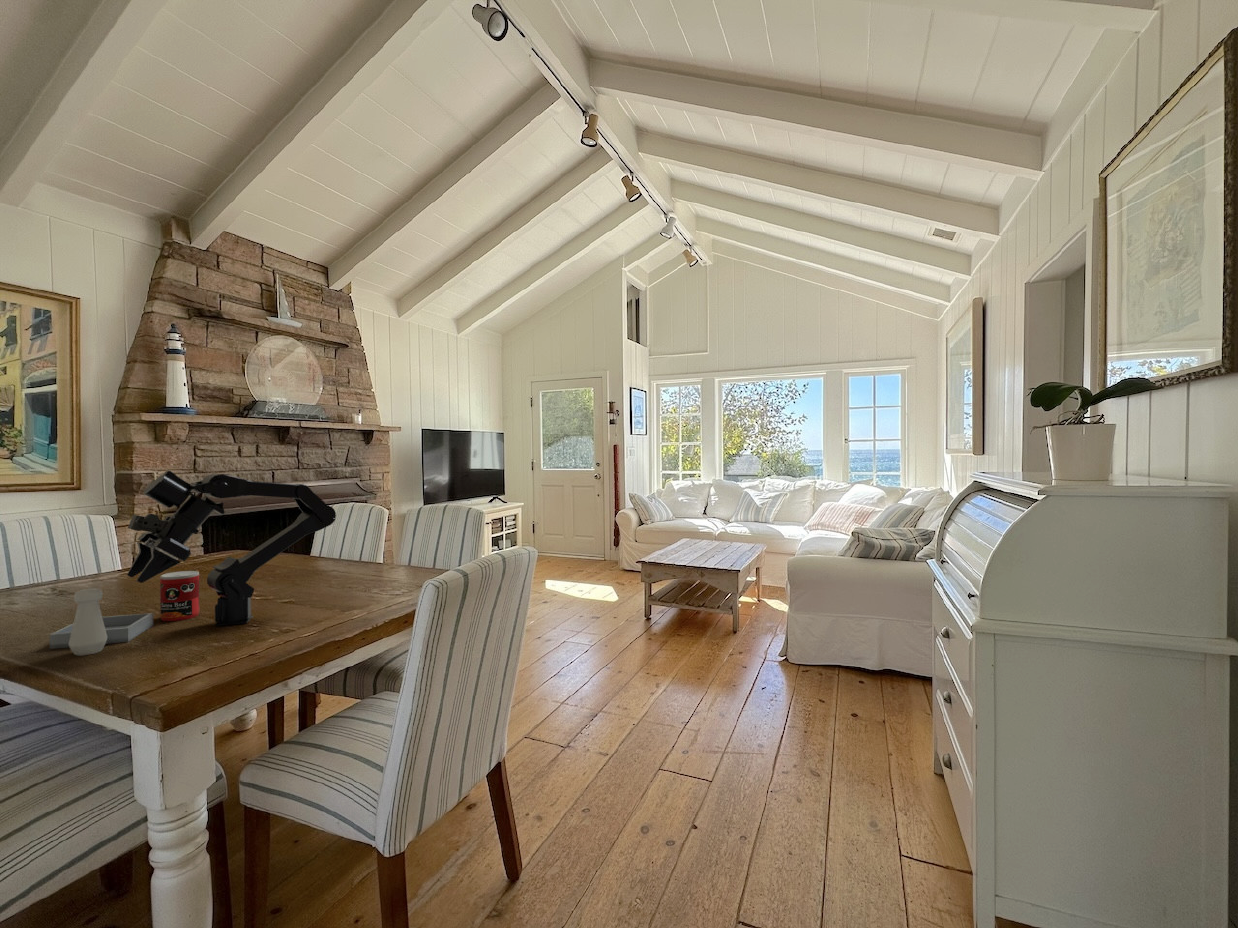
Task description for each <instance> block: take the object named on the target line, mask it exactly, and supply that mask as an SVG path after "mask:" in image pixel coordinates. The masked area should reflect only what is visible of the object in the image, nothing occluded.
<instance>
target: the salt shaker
mask: <svg viewBox="0 0 1238 928" xmlns="http://www.w3.org/2000/svg"><path fill="white" fill-rule="evenodd" d="M102 599H103V590H102V589H101V588H97V587H90V588H89V587H88V588H83V589H79V590H77V591H76V592H75V593H74V595H73V601H74V602H75V603H77V607H76V610H75V616H74V619H73V623H72V624H73V627H72V632H71V636H70V640H69V647H68V648H69V649H70V650H71V652H72V653H73V655H74V656H80V657H81V656H88V655H94V654H96V653H100V652H101V651H103V649H104V647H105V645H106V644H105V643H106V641H107V634H106V630H105V626H104V622H103V618H102V617H103V615H102V610H101V607H100V600H102Z"/></svg>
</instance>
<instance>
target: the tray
mask: <svg viewBox="0 0 1238 928" xmlns="http://www.w3.org/2000/svg"><path fill="white" fill-rule="evenodd" d="M102 618H103V622H104V626H105V630H106V634H107V641H106V643H105V645H108V644H120V643H129V642H130V641H132V640H133V639H135V638H136V637H138V636H139V635H140V634H141V635H142V634H143V633H144V632H145V631H147V630H149V629H150V628H151V627H153V626H154V612H149V613H136V614H134V613H133V614H122V615H121V614H120V615H112V616H102ZM72 627H73V623H71V624H69V625H67V626H65V627H63V628H61V629H58V630H57V631H54V632H52V633H50V634H49V650H54V649H66V648H70V647H69V640H70V636H71V632H72Z"/></svg>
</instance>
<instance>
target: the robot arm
mask: <svg viewBox="0 0 1238 928" xmlns="http://www.w3.org/2000/svg"><path fill="white" fill-rule="evenodd" d="M194 493H195V494H194ZM142 494H143V495H145V496H147V498H150V499H151V500H153V501H155V502H157V503H158V504H160V505H162V506H164V507H165V508H167V509H170V508H173V506H174V507H175V508H178V507H179V508H178V509H177V511H175V512H174V514H173V515H167V516H166V517H165V518H164V519H160V516H159V514H154V513H150V512H149V513H147V514H146V515H145V516H143V515H138V514H133V515H132V517H131V519H130V522H129V524H128V527H127V529H130V530H132V531H137V532H138V531H140V532H141V531H144V532H143V533H141V535H140V536H139V537H138V538H137V539H136V540H138V541H136V544H137V546H138V547H137V548H138V553H137V555H136V557H135V559H134V561H133V563H132V564H131V566H130V568H129V570H128V571H127V576H128V577H130V578H133V577H135V576H137V575H138V574H139V575H138V577H137V579H136V582H138V583H140V584H143V583H145V582H146V581H148V580H150V579H152V578H154V577H155V576H157V575H159V574H161V573H163V572H164V571H167V570H168V569H170V568H173V567H175V566H177V565H180V564H181V563H182V562H186V560H188V558H189V557H190V556H191V555H192V553H191V552H192V551H191V548H190V547H188V546H187V545H185V544H186V543H187V541H188V540H190V538H192V536H193V535H197V534H198V533H199V532H200V530H199V528H200V527H201V526H202V525H203V524H204V523H205V521H206V520H207V519H208V518H209V517H210V516H211V515H212V513H213V512H215V513H217V514H219V515H224V514H226V512H225V508H224V505H225V504H224V502H216V501H214V500H213V499H210V498H217V499H227V498H228V499H229V498H237V497H238V498H239V497H246V496H247V497H248V496H252V497H253V496H255V497H256V496H257V497H273V498H287V499H288V498H290V499H293V501H295V504H296V506H298V509H299V510H300V511H301V513H300V514H298V517H297V518H296V519H295V520H294V522H292V524H290V525H289V526H287V527H286V528H284V529H283V530H281V531H280V532H278V533H277V534H275V535H274V536H272V537H271V538H269V539H268V540H266V541H265V542H263V543H262V544H260V545H258V547H256V548H254V549H253V550H251V551H250V552H249V553H247V554H245V555H244V556H242V557H240V558H239V557H238V558H235V557H231V556H227V557H226V558H224V560H223V561H222V562H220V563H219V564H217V565H213V566H212V568H213V569H212V570H211V571H210V572H209V573H208V574H207V578H206V584H207V586H208V587H209V588H210V589H211V590H213V591H215V593H216V595H217V596H218V598H217V604H215V605H214V622H215V624H214V625H215V627H220V626H230V625H231V626H233V625H243V624H247V623H248V622H249V621H250V620H252V619H253V617H254V616H253V614H252V597H253V594H254V591H255V588H254V587H253V586H252V585H249V583H247V582H249V580H250V579H251V578H252V576H253V575H254V574H255V572H256V571H257V570H258V569H260V568H261V567H262V566H264V565H265V564H266V563H269V562H270V561H271V560H273V559H274V558H275V557H277V556H278V555H280V554H281V553H282V552H284V551H286V550H287V549H289V548H290V547H291V546H293V545H294V544H295V543H297V542H298V541H300V540H301V539H303V538H304V537H306V536H307V535H310V534H312V533H315V532H318V531H321V530H323V529H325V528H328V527H329V526H331V525H333V524H334V522H335V521H336V517H337V515H336V514H337V512H336V510H335V509H334V507H332V506H330V505H327V503H326V502H325V501H324V500H323V499H322V498H320V497H319V496H318V495H317V494H316V493H315V492H314V491H313V490H312V489H311V488H310V487H309V486H308V485H307V484H303V483H294V484H292V483H280V482H279V483H278V482H267V481H257V480H256V481H255V480H253V481H252V480H249V479H245V478H242V477H238V476H233V475H229V474H224V473H211V474H207V475H206V476H205V477H203V479H202V480H200V481H196V482H191V483H189V482H187V481H186V480H184V479H182V478H181V477H179V476H178V475H177V474H175V473H174V472H173V471H171V470H166V471H165V472H164V473H163V474H161V475H159V476H158V477H157V478H155V480H152V481H151V482H150V483H149V484H148V485H147V487H145V489H144V490H143V493H142ZM196 494H204V495H205V496H203V497H199V496H197V495H196ZM209 497H210V498H209ZM181 561H182V562H181Z"/></svg>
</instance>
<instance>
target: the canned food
mask: <svg viewBox="0 0 1238 928" xmlns="http://www.w3.org/2000/svg"><path fill="white" fill-rule="evenodd" d="M159 582H160V585H159V591H160V592H159V593H160V595H159V597H160V598H159V599H160V600H159V601H160V605H159V607H160V609H159V610H160V612H159V613H160V614H159V615H160V619H161V620H162V621H164V622H177V621H178V622H179V621H184V620H189V619H192V618H195V617H197V616H198V615H199V613H200V572H199V571H198V570H185V571H184V570H183V571H174V572H167V573H164V574H162V575H160V579H159Z"/></svg>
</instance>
